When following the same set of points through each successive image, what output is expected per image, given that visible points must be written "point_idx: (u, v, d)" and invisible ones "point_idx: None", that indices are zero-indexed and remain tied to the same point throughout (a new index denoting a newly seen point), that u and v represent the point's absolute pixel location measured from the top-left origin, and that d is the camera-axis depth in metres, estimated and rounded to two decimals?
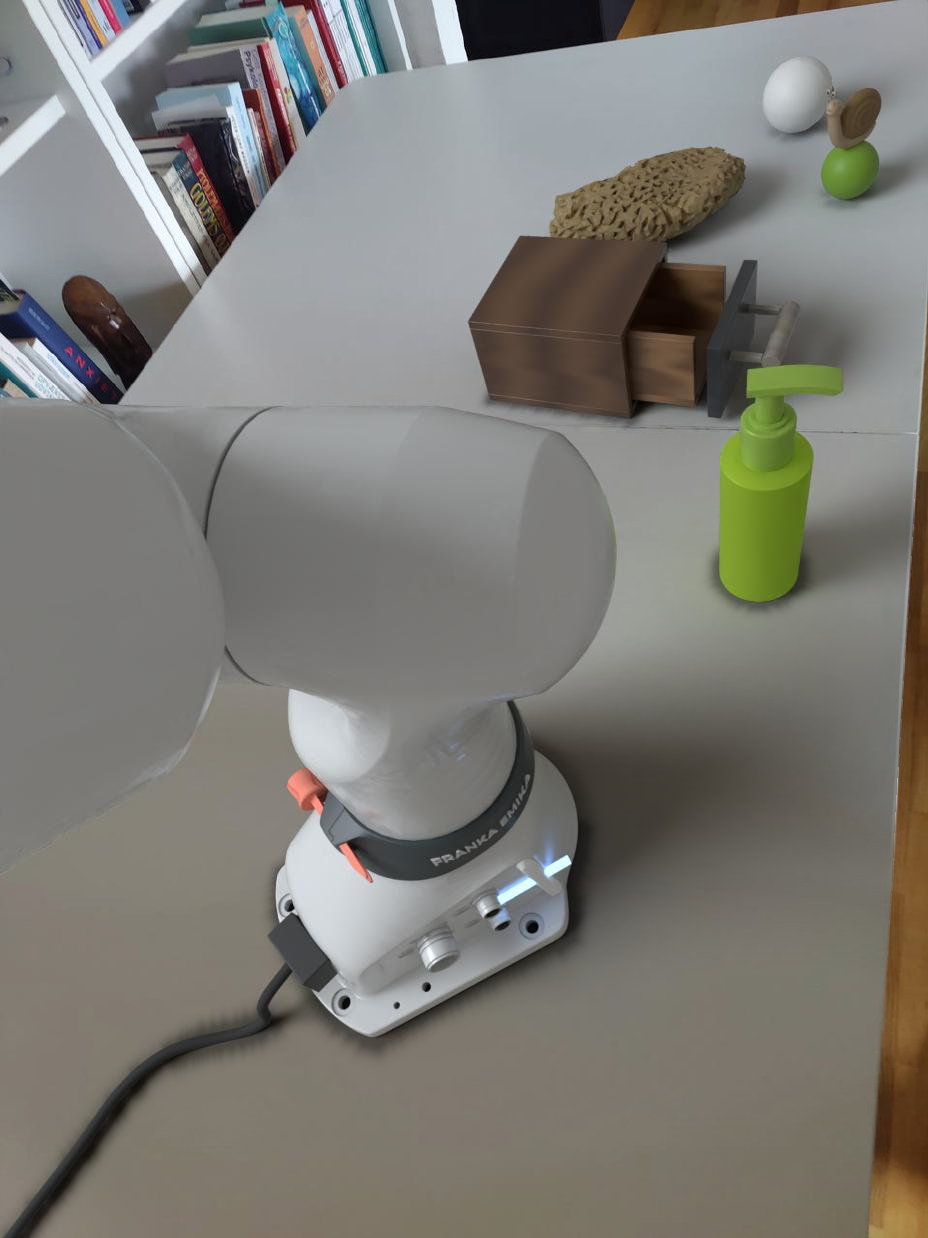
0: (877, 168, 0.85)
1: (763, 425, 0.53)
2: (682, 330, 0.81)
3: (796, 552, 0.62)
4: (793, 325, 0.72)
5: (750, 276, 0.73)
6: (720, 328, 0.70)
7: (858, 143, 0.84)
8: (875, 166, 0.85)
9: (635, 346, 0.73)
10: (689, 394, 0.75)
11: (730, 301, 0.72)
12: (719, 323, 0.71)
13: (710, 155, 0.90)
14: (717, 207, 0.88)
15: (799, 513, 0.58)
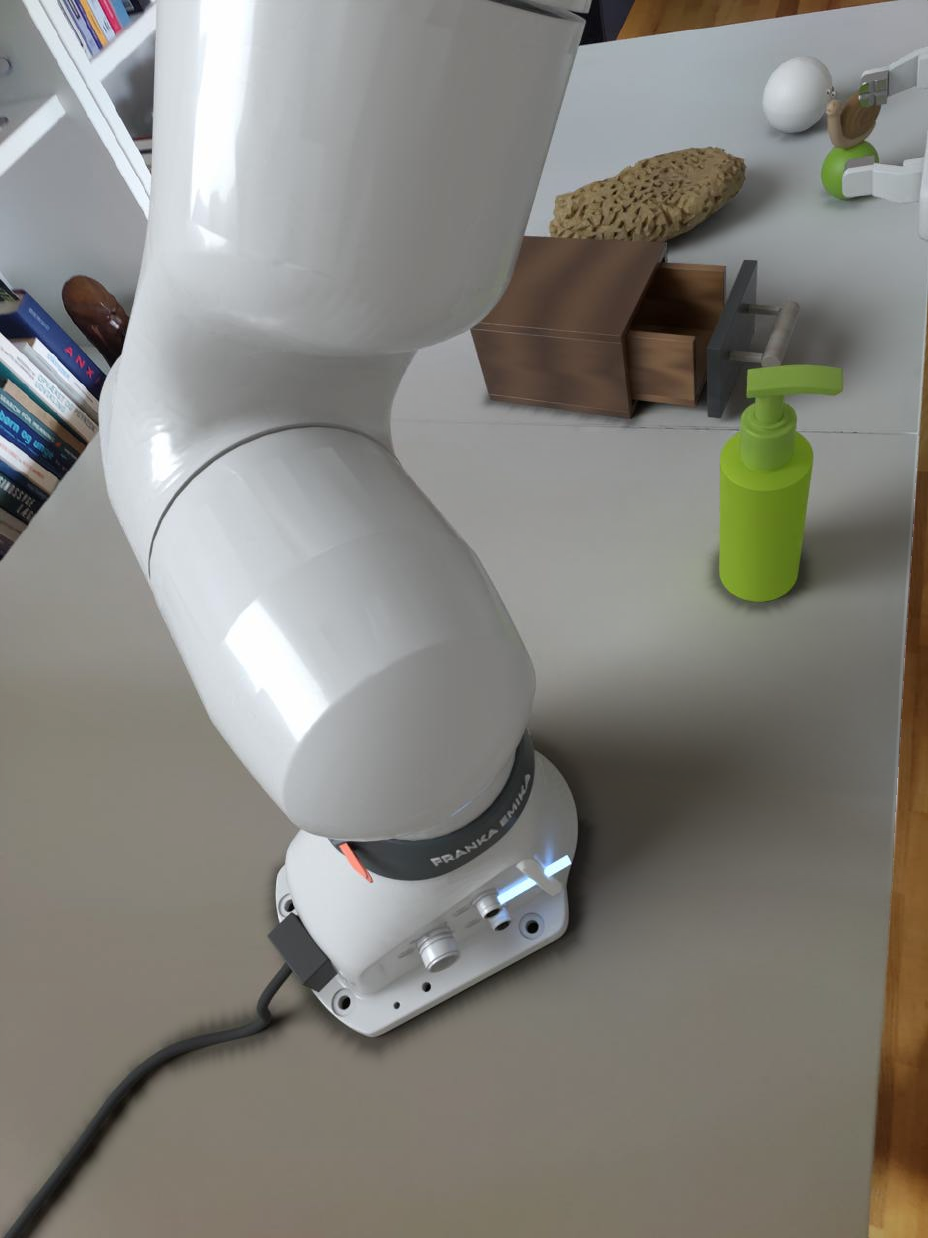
0: None
1: (763, 425, 0.53)
2: (682, 330, 0.81)
3: (796, 552, 0.62)
4: (793, 325, 0.72)
5: (750, 276, 0.73)
6: (720, 328, 0.70)
7: (858, 143, 0.84)
8: None
9: (635, 346, 0.73)
10: (689, 394, 0.75)
11: (730, 301, 0.72)
12: (719, 323, 0.71)
13: (711, 155, 0.90)
14: (717, 207, 0.88)
15: (799, 513, 0.58)
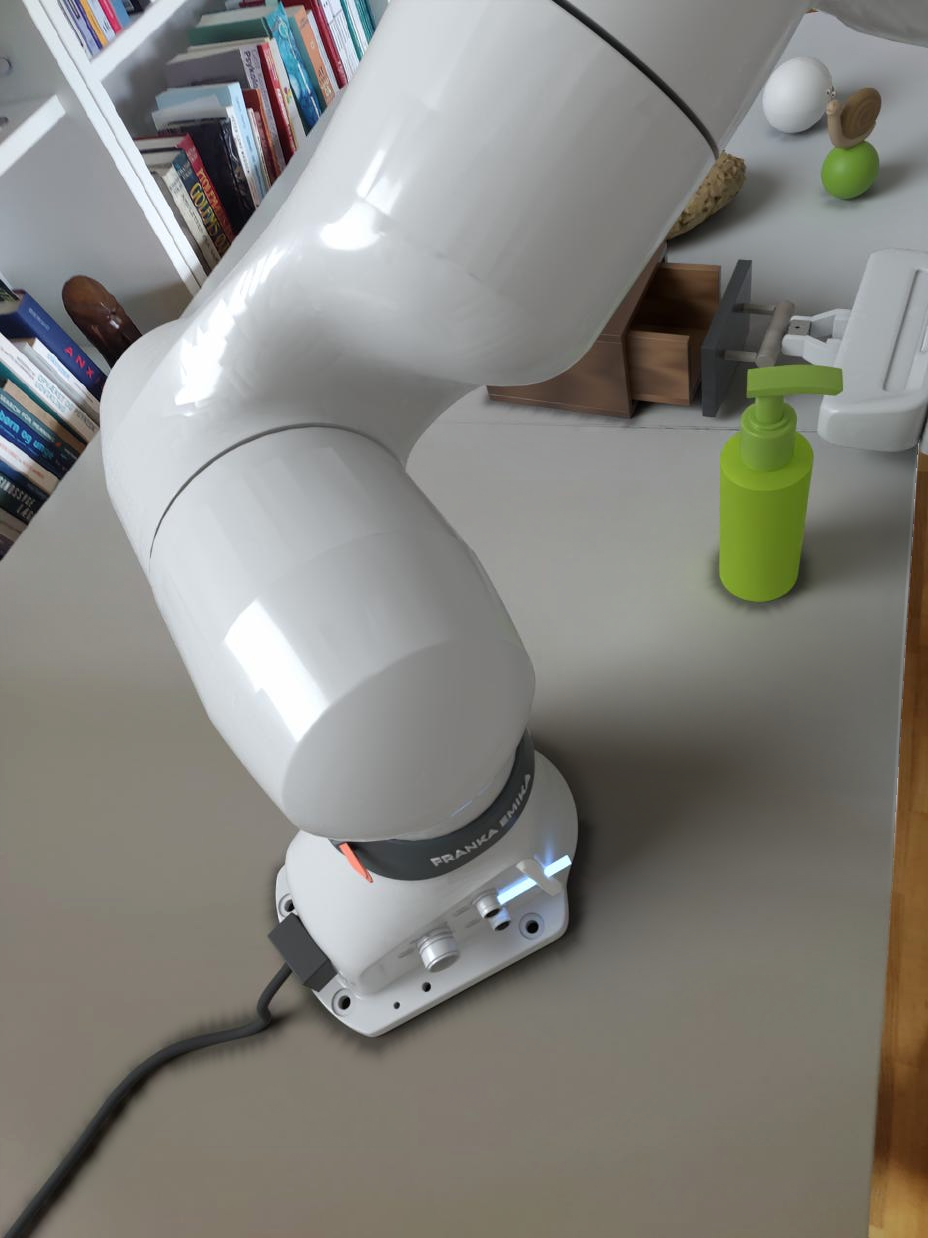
0: (877, 168, 0.85)
1: (764, 425, 0.53)
2: (677, 330, 0.81)
3: (796, 552, 0.62)
4: (787, 325, 0.72)
5: (744, 276, 0.73)
6: (714, 328, 0.71)
7: (858, 143, 0.84)
8: (875, 166, 0.85)
9: (630, 345, 0.74)
10: (684, 393, 0.76)
11: (724, 301, 0.72)
12: (713, 323, 0.71)
13: None
14: (717, 207, 0.88)
15: (799, 513, 0.58)
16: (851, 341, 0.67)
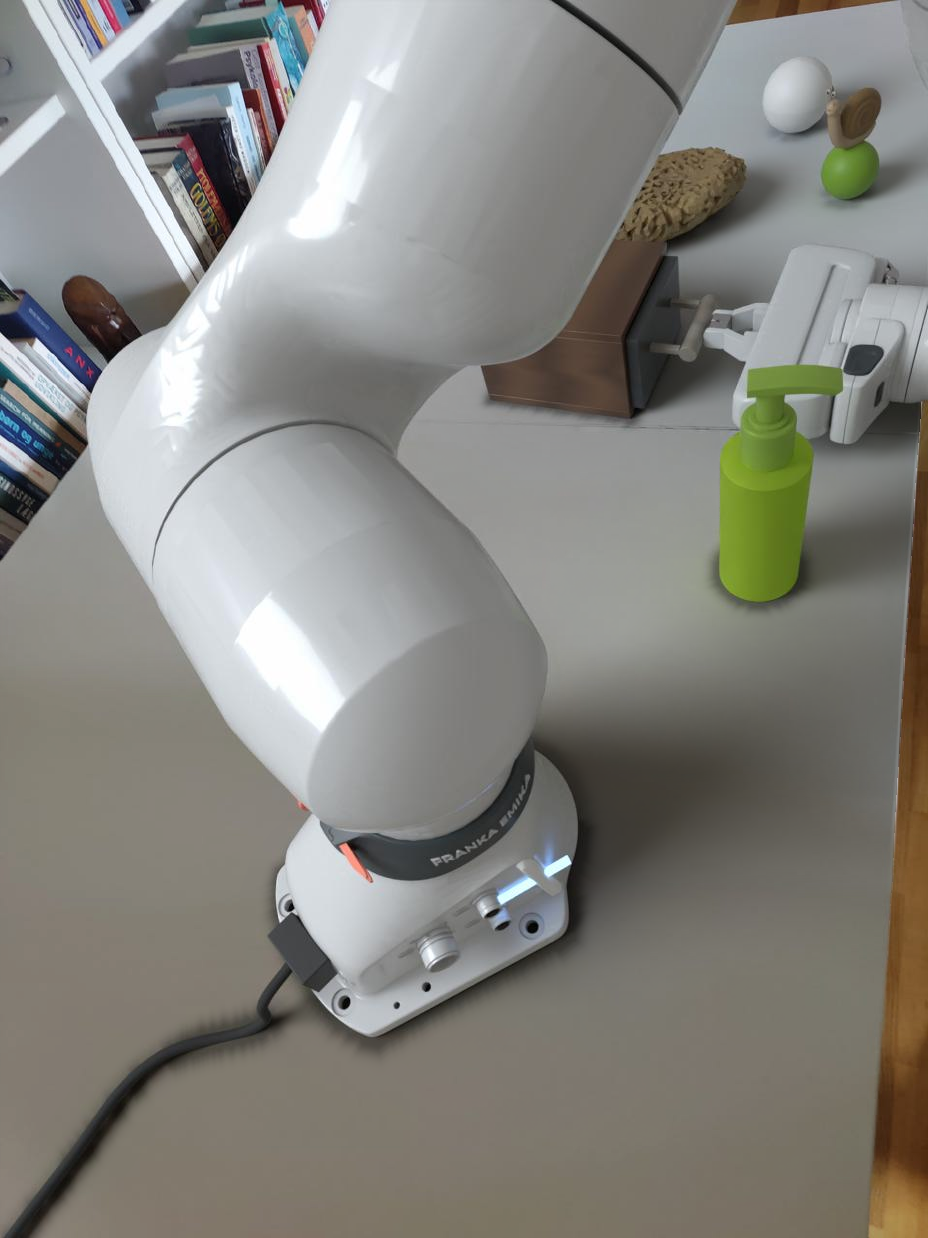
0: (877, 168, 0.85)
1: (764, 425, 0.53)
2: None
3: (796, 552, 0.62)
4: (710, 318, 0.75)
5: (670, 271, 0.76)
6: (638, 321, 0.73)
7: (858, 143, 0.84)
8: (875, 166, 0.85)
9: None
10: None
11: (649, 295, 0.75)
12: (638, 316, 0.74)
13: (711, 155, 0.89)
14: (717, 208, 0.88)
15: (799, 513, 0.58)
16: (765, 333, 0.70)
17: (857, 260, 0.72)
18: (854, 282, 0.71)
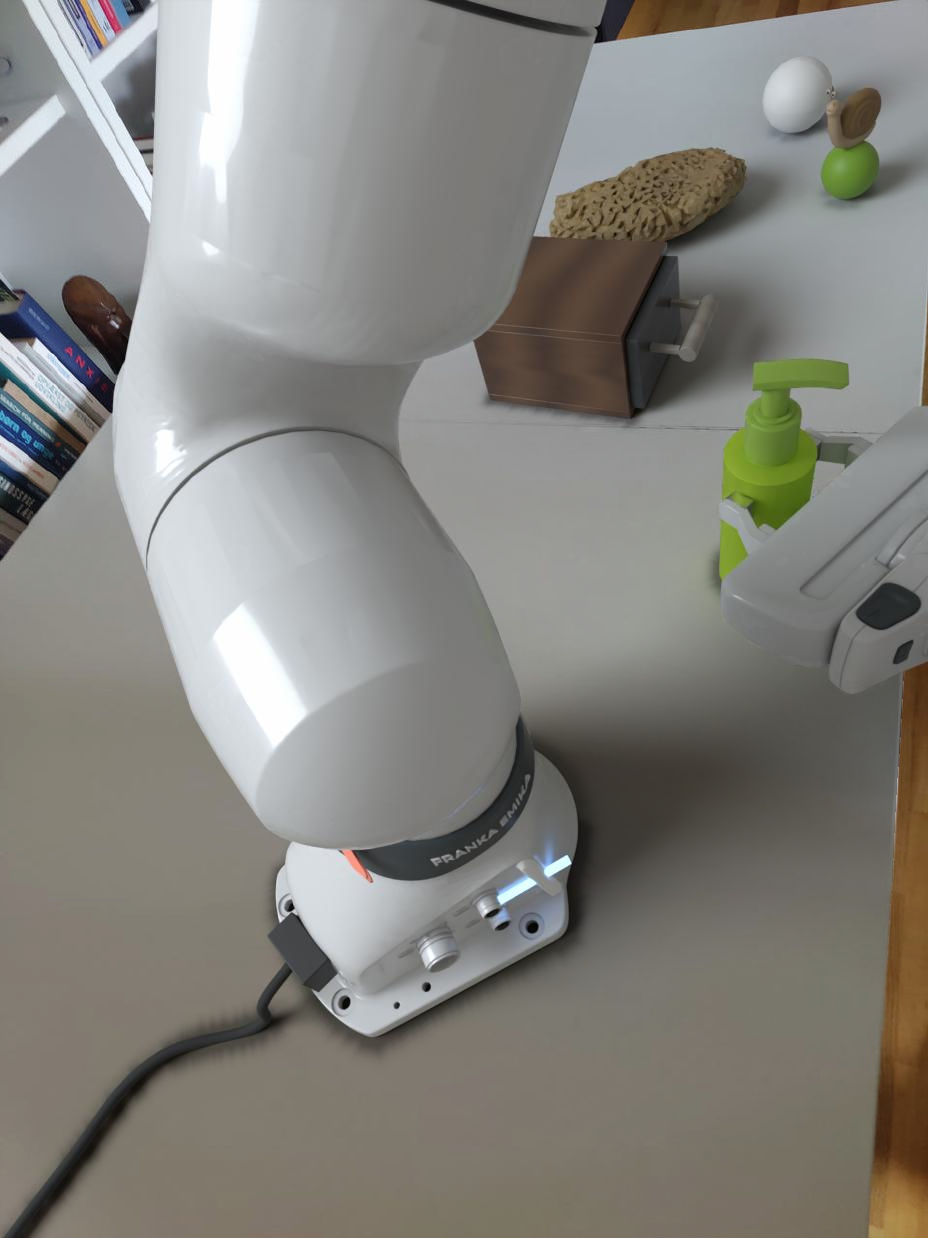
0: (877, 168, 0.85)
1: (769, 419, 0.53)
2: None
3: None
4: (710, 318, 0.75)
5: (670, 271, 0.76)
6: (638, 321, 0.73)
7: (858, 143, 0.84)
8: (875, 166, 0.85)
9: None
10: None
11: (649, 295, 0.75)
12: (638, 316, 0.74)
13: (711, 156, 0.89)
14: (717, 208, 0.88)
15: None
16: (808, 513, 0.54)
17: None
18: None
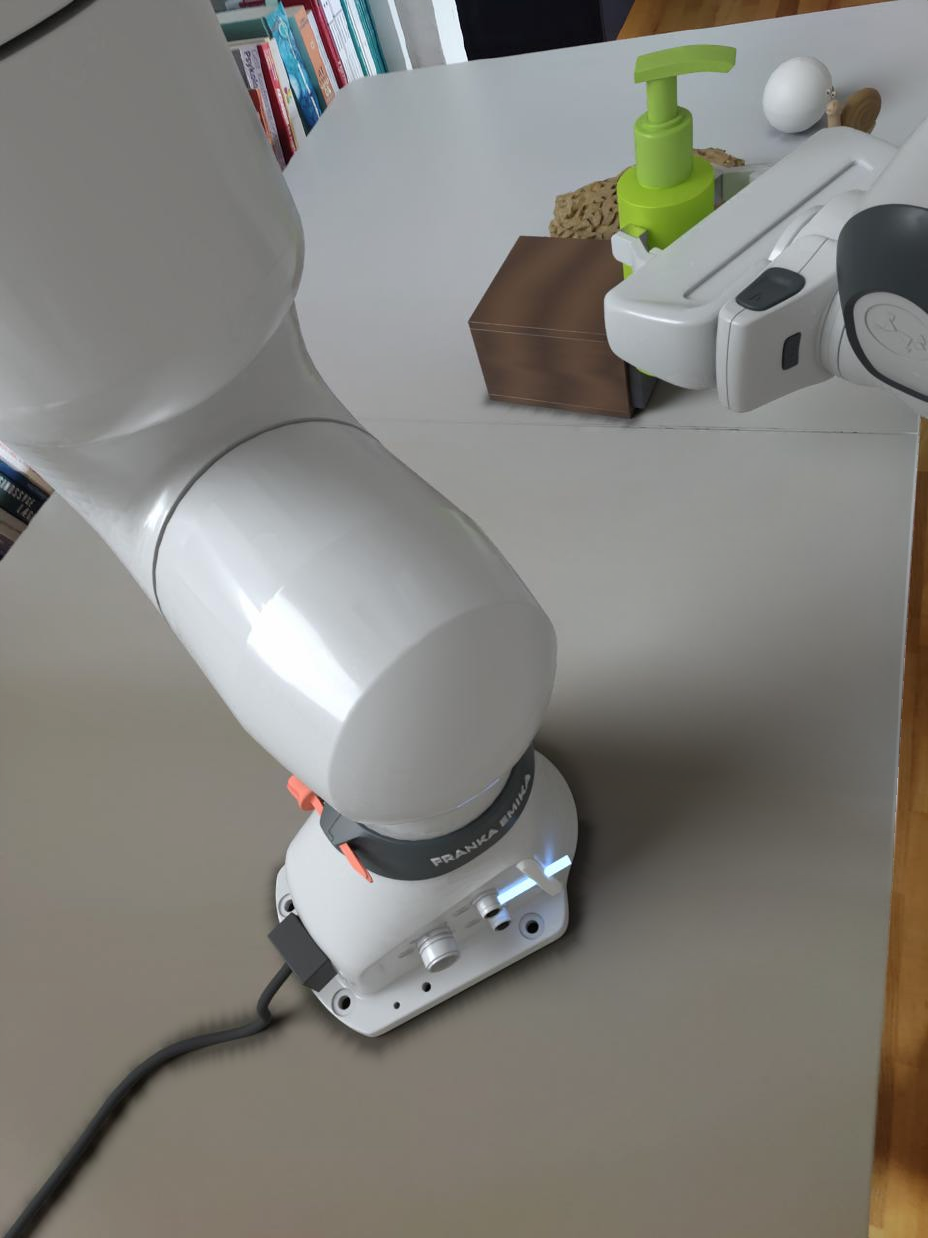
0: None
1: (656, 123, 0.49)
2: None
3: None
4: None
5: None
6: None
7: None
8: None
9: None
10: None
11: None
12: None
13: (711, 156, 0.89)
14: None
15: None
16: (699, 228, 0.49)
17: (889, 162, 0.49)
18: (861, 190, 0.48)
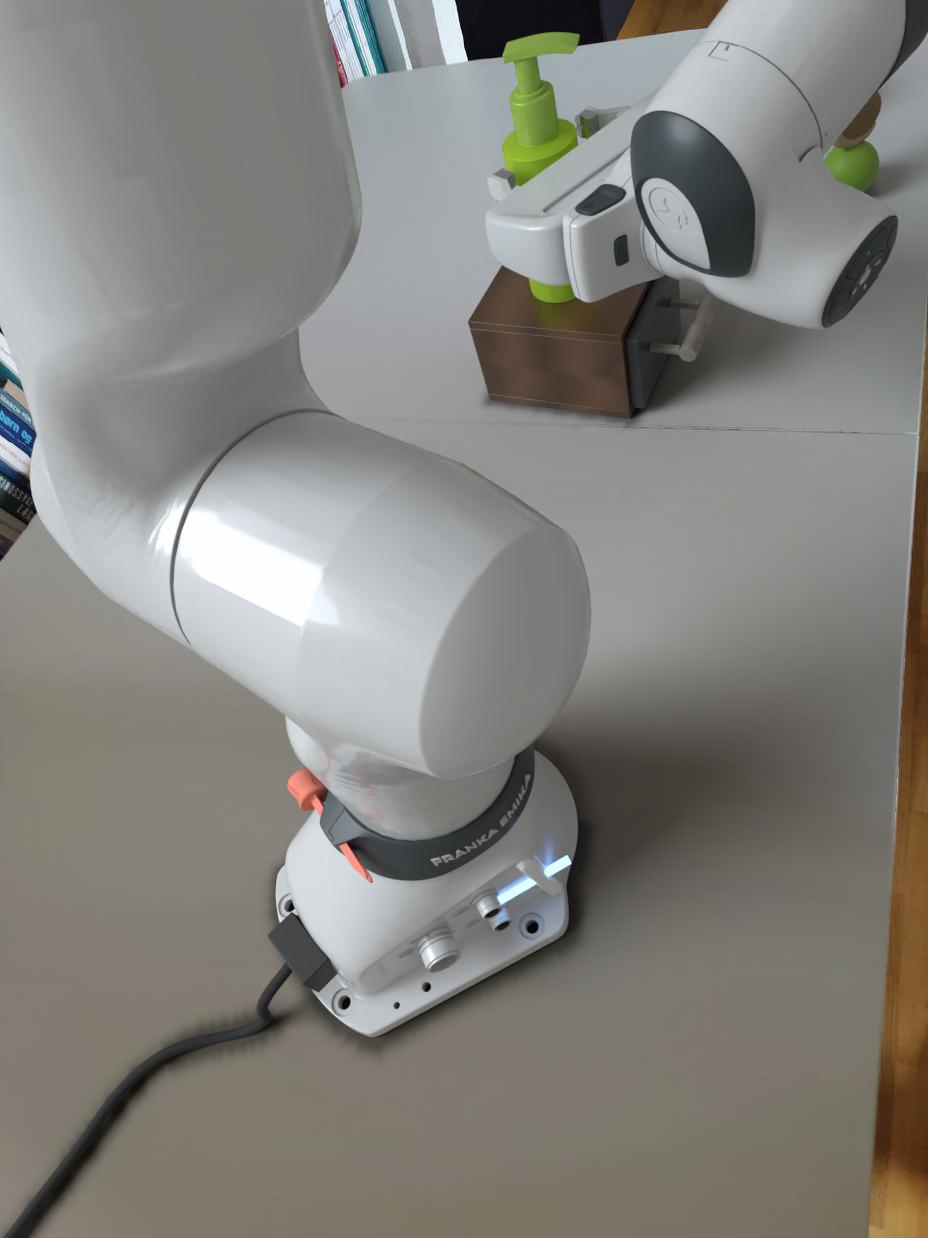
0: (877, 168, 0.85)
1: (524, 94, 0.63)
2: None
3: None
4: (710, 318, 0.75)
5: None
6: (638, 321, 0.73)
7: (858, 143, 0.84)
8: (875, 166, 0.85)
9: None
10: None
11: (649, 295, 0.75)
12: (638, 316, 0.74)
13: None
14: None
15: None
16: (561, 161, 0.63)
17: None
18: None
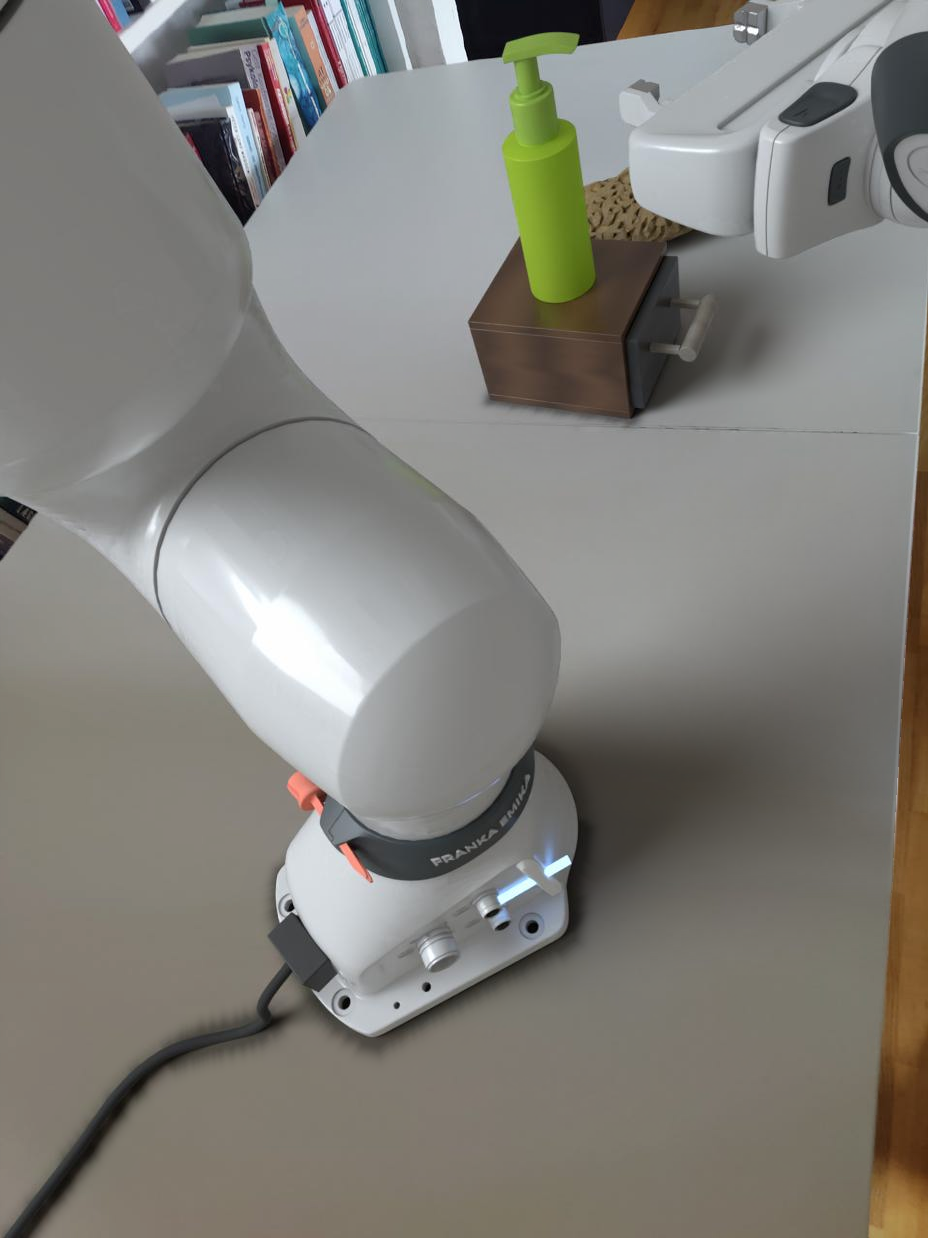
0: None
1: (524, 94, 0.63)
2: None
3: (581, 244, 0.72)
4: (710, 318, 0.75)
5: (670, 271, 0.76)
6: (638, 321, 0.73)
7: None
8: None
9: None
10: None
11: (649, 295, 0.75)
12: (638, 316, 0.74)
13: None
14: None
15: (572, 193, 0.68)
16: (732, 63, 0.45)
17: None
18: None
